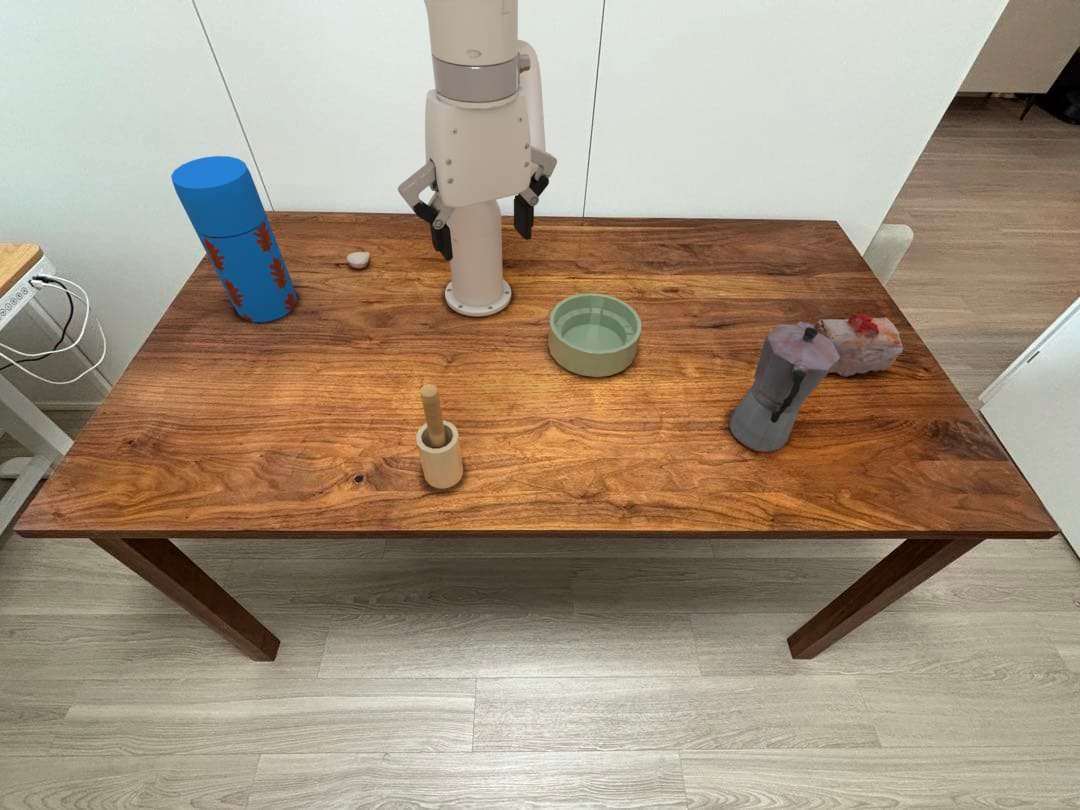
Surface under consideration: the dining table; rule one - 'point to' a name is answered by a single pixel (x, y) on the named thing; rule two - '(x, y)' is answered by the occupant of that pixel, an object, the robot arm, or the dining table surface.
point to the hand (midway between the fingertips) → (484, 243)
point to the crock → (440, 457)
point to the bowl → (594, 334)
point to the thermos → (236, 235)
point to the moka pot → (782, 385)
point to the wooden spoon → (433, 416)
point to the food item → (862, 343)
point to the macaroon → (358, 259)
